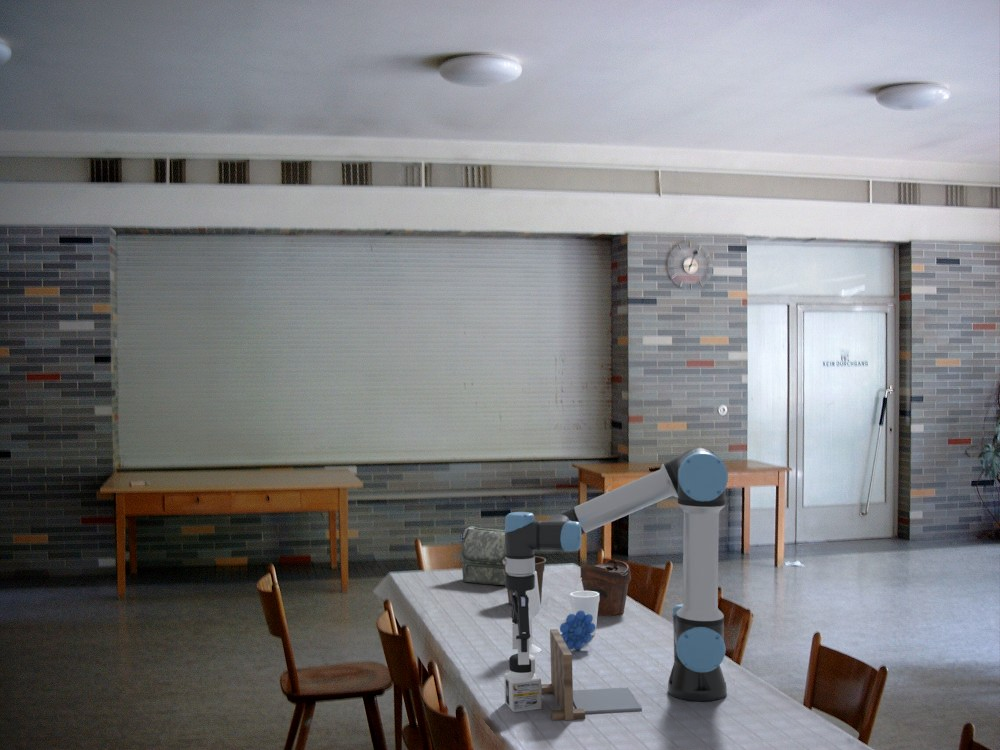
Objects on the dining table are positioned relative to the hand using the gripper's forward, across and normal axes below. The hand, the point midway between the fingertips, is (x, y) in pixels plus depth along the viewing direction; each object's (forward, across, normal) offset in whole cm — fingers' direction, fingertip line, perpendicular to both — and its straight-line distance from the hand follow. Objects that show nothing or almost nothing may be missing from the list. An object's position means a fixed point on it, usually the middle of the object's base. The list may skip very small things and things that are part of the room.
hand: (520, 656), depth 249 cm
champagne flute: (+13, -49, +8) cm, 51 cm away
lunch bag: (+13, -151, +5) cm, 152 cm away
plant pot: (+13, -110, +14) cm, 111 cm away
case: (+13, -92, +41) cm, 102 cm away
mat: (+12, 0, +22) cm, 25 cm away
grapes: (+13, -48, +22) cm, 54 cm away
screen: (+12, 0, +10) cm, 16 cm away
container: (+13, 0, 0) cm, 13 cm away
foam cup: (+13, -64, +28) cm, 71 cm away
